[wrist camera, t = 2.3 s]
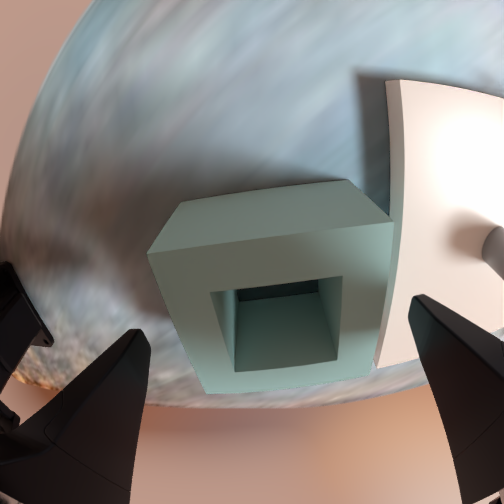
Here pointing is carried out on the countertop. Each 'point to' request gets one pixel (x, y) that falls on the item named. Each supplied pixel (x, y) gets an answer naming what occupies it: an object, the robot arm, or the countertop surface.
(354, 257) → the block with square hole
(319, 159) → the countertop surface
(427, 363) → the robot arm
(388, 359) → the base plate
